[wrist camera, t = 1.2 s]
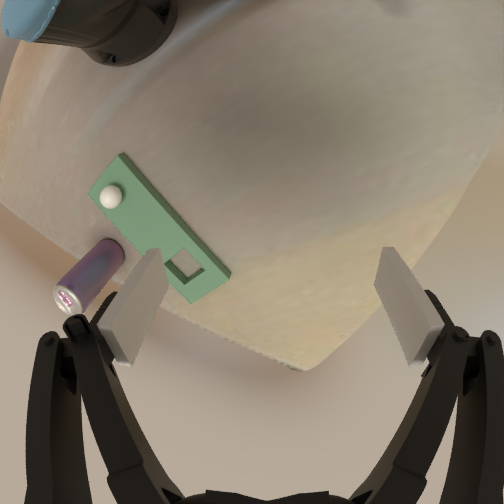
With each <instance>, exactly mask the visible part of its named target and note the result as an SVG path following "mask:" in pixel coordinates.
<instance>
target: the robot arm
mask: <svg viewBox="0 0 504 504" xmlns="http://www.w3.org/2000/svg"><path fill="white" fill-rule="evenodd" d="M176 17H177V4H176V1H175V0H5V2H4V5H3V9H2V14H1V26H2V30H3V32H4V34H5V35H6V36H7V37H9V38H12V39H19V40H24V41H26V42H37V43H48V44H57V45H65V46H72V47H78V48H81V49H82V50H83V51H84V52H85V53H86V54H87V55H88V56H89V57H90V58H92V59H93V60H94V61H96V62H98V63H100V64H103V65H108V66H114V67H120V66H127V65H131V64H134V63H136V62H138V61H140V60H142V59H144V58H146V57H147V56H149V55H150V54H152V53H153V52H154V51H155V50H156V49H157V48H159V47H160V45H161V44H162V43H163V42H164V41H165V40H166V38H167V37H168V36H169V34H170V32H171V31H172V29H173V26H174V24H175V21H176ZM374 286H375V288H376V290H377V292H378V295H379V297H380V299H381V301H382V303H383V305H384V307H385V310H386V312H387V314H388V316H389V318H390V321H391V323H392V325H393V328H394V330H395V332H396V335H397V337H398V340H399V342H400V345H401V347H402V350H403V352H404V355H405V357H406V360H407V363H408V365H409V367H414V366H419V365H422V364H423V362H424V361H425V359H426V357H427V358H428V360H429V364H428V366H427V367H426V369H425V371H424V372H423V374H422V375H421V377H423V378H422V380H421V383H420V385H419V387H418V389H417V392H416V394H415V396H414V399H413V400H412V403H411V405H410V407H409V409H408V411H407V413H406V415H405V417H404V419H403V421H402V422H401V424H400V426H399V428H398V430H397V432H396V433H395V435H394V437H393V439H392V440H391V442H390V444H389V446H388V447H387V449H386V451H385V452H384V454H383V455H382V457H381V458H380V460H379V461H378V463H377V465H376V466H375V468H374V469H373V471H372V472H371V473H370V475H369V476H368V478H367V479H366V480H365V481H364V482H363V484H361V485H360V487H358V489H357V490H356V491H355V492H354V493H353V494H352V496H351V497H350V498H349V499H345V498H342V497H339V496H335V495H329V491H323V492H313V493H301V494H300V493H299V494H296V495H291V496H288V497H283V498H280V499H275V500H269V501H265V500H260V499H256V498H252V497H248V496H244V495H241V494H237V493H230V492H221V491H212V490H206V493H203V494H197V495H193V496H189V497H186V498H185V497H184V496H183V494H182V493H181V492H180V490H179V489H178V488H177V486H176V485H175V484H174V483H173V482H172V481H171V480H170V478H169V477H168V475H167V474H166V472H165V471H164V469H163V467H162V466H161V464H160V463H159V461H158V459H157V457H156V456H155V454H154V452H153V450H152V449H151V447H150V445H149V443H148V441H147V439H146V438H145V436H144V434H143V432H142V430H141V428H140V426H139V424H138V422H137V420H136V418H135V416H134V413H133V411H132V409H131V407H130V405H129V402H128V400H127V398H126V396H125V393H124V391H123V388H122V386H121V384H120V381H119V379H118V376H117V373H116V371H115V368H114V366H113V364H112V361H113V359H114V357H115V359H116V361H117V362H118V364H119V365H124V366H129V367H132V365H133V363H134V361H135V358H136V356H137V354H138V351H139V349H140V347H141V345H142V343H143V340H144V338H145V336H146V334H147V331H148V329H149V327H150V325H151V323H152V320H153V318H154V316H155V314H156V312H157V310H158V308H159V306H160V304H161V302H162V300H163V297H164V295H165V293H166V291H167V289H168V287H169V283H168V279H167V275H166V271H165V267H164V263H163V259H162V254H161V250H160V248H158V249H148V250H147V252H146V253H145V255H144V256H143V257H142V259H141V260H140V261H139V263H138V264H137V266H136V267H135V268H134V270H133V271H132V273H131V274H130V275H129V277H128V278H127V280H126V281H125V283H124V284H123V285H122V287H121V288H120V290H119V291H118V292H113V293H111V294H110V295H109V296H108V297H107V298H106V299H105V300H104V302H103V303H102V305H101V306H100V308H99V310H98V311H97V312H96V314H95V315H94V317H93V318H92V320H91V321H90V323H89V322H88V320H87V318H86V317H85V315H83V314H76V315H72V316H71V317H69V318H68V319H67V320H66V321H65V322H64V324H63V330H64V332H65V333H66V335H67V337H68V338H60V337H59V335H58V334H57V333H56V332H54V331H50V332H48V333H45V334H44V335H43V336H42V337H41V338H40V340H39V343H38V347H37V352H36V356H35V361H34V367H33V372H32V379H31V385H30V392H29V401H28V411H27V423H26V475H27V490H26V496H25V502H24V504H92V499H91V492H90V487H89V481H88V476H87V469H86V462H85V454H84V444H83V433H82V413H81V395H82V398H83V402H84V405H85V409H86V412H87V415H88V419H89V422H90V425H91V428H92V431H93V434H94V437H95V439H96V442H97V445H98V447H99V450H100V452H101V455H102V457H103V460H104V462H105V464H106V467H107V469H108V472H109V475H108V477H107V483H108V485H109V488H110V490H111V492H112V494H113V496H114V498H115V500H116V502H117V503H118V504H416V502H417V501H418V499H419V498H420V496H421V494H422V492H423V491H424V488H425V486H426V483H427V480H426V478H425V476H426V473H427V471H428V469H429V467H430V465H431V463H432V461H433V459H434V456H435V454H436V452H437V450H438V448H439V445H440V443H441V441H442V438H443V436H444V433H445V431H446V428H447V425H448V423H449V420H450V417H451V414H452V411H453V408H454V405H455V402H456V399H457V395H458V402H457V403H458V404H457V415H456V425H455V434H454V440H453V447H452V453H451V458H450V463H449V468H448V472H447V477H446V481H445V485H444V488H443V492H442V495H441V499H440V503H439V504H503V486H504V355H503V349H502V344H501V340H500V338H499V336H498V335H497V334H496V333H495V332H493V331H491V330H486V331H484V332H483V333H482V335H481V337H480V338H478V337H470V336H469V334H468V333H467V331H465V330H464V329H463V328H461V327H458V326H454V324H453V322H452V321H451V319H450V317H449V316H448V314H447V313H446V311H445V309H443V307H442V305H441V303H440V302H439V300H438V299H437V297H436V296H435V295H434V294H433V293H432V292H431V291H430V290H423V288H422V287H421V285H420V284H419V282H418V281H417V279H416V278H415V276H414V275H413V273H412V272H411V270H410V269H409V267H408V266H407V265H406V263H405V262H404V260H403V259H402V258H401V256H400V255H399V254H398V252H397V251H396V249H395V248H394V247H382V252H381V257H380V261H379V266H378V270H377V274H376V279H375V283H374Z"/></svg>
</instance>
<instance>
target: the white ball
mask: <svg viewBox="0 0 504 504" xmlns="http://www.w3.org/2000/svg"><path fill="white" fill-rule="evenodd" d="M121 200H122V193H121V191H120V189H119V188H118V187H116V186H114V185H109V186H106V187H105V188H104V189H103V190H102V191H101V194H100V202H101V204H102V205H103V206H104V207H105V208H108V209H113V208H115V207H117V206H118V205H119V204H120V202H121Z"/></svg>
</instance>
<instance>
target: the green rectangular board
mask: <svg viewBox="0 0 504 504" xmlns="http://www.w3.org/2000/svg"><path fill="white" fill-rule="evenodd" d="M109 185H114V186H116V187H118V188H119V189H120V191H121V193H122V200H121V202H120V204H119V205H118V206H117V207H115V208H113V209H108V208H105V207H104V206H103V205H102V204H101V202H100V194H101V191H102V190H103V189H104V188H105V187H106V186H109ZM88 195H89V196H90V198H91V199H92V200H93V201H94V202H95V204H96V205H97V206H98V207H99V208H100V209H101V211H102V212H103V213H104V214H105V215H106V216H107V218H108V219H109V220H110V221H111V222H112V223H113V224H114V226H115V227H116V228H117V229H118V230H119V231H120V232H121V233H122V234H123V236H124V237H125V238H126V239H127V240H128V241H129V242H130V243H131V244H132V245H133V246H134V247H135V249H136V250H137V251H138V252H139V253H140V254H141V255H142V256H144V255H145V253H146V252H147V250H148V249H158V248H160V250H161V254H162V259H163V263H164V267H165V271H166V275H167V279H168V282H169V283H170V284H171V285H172V286H173V287H174V288H175V289H176V290H177V291H178V292H179V293H180V294H181V295H182V296H183V297H184V298H185V299H186V300H187V301H188V302H189V303H190V304H192V303H193V302H195V301H196V300H198V299H199V298H201V297H203V296H204V295H206V294H207V293H209V292H211V291H212V290H214V289H215V288H217V287H218V286H220V285H222V284H223V283H225V282H226V281H228V280H229V279H230V275H231V272H230V271H229V270H228V269H227V268H226V267H225V266H224V265H223V264H222V263H221V262H220V260H219V259H218V258H217V257H216V256H215V255H214V254H213V253H212V252H211V251H210V250H209V249H208V248H207V246H206V245H205V244H204V243H203V242H202V241H201V240H200V239H199V238H198V237H197V236H196V234H195V233H194V232H193V231H192V230H191V229H190V228H189V227H188V226H187V225H186V223H185V222H184V221H183V220H182V219H181V218H180V217H179V216H178V215H177V213H176V212H175V211H174V210H173V209H172V208H171V207H170V206H169V204H168V203H167V202H166V201H165V200H164V199H163V198H162V197H161V195H160V194H159V193H158V192H157V191H156V190H155V189H154V187H153V186H152V185H151V184H150V183H149V182H148V181H147V179H146V178H145V177H144V176H143V175H142V174H141V172H140V171H139V170H138V169H137V168H136V167H135V166H134V164H133V163H132V162H131V161H130V160H129V159H128V157H127V156H126V155H125V154H124V153H122V154H119V155H117V156H116V157H115V159H114V160H113V161H112V162H111V164H110V165H109V166H108V167H107V169H106V170H105V171H104V172H103V174H102V175H101V176H100V177H99V179H98V180H97V181H96V183H95V184H94V185H93V187H92V188H91V189H90V191H89V192H88ZM183 248H185V250H186V251H187V252H188V253H189V254H190V255H191V256H192V257H193V258H194V259H195V260H196V261H197V262H198V263H199V264H200V265H201V266H202V267H203V268H202V269H200V270H199V271H197V272H196V273H195V274H193V275H192V276H190V277H189V278H187V277H186V276H185V275H184V274H183V273H182V272H181V271H180V270H179V269H178V268H177V267H176V266H175V265H174V264H173V263H172V262H171V261H170V260H169V259H170V258H172V257H173V256H174V255H175V254H177V253H178V252H179V251H180V250H182V249H183Z"/></svg>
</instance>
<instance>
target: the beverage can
mask: <svg viewBox="0 0 504 504" xmlns="http://www.w3.org/2000/svg"><path fill="white" fill-rule="evenodd" d="M123 261H124V255H123V251H122V249H121V247H120V246H119V245H118V244H117V243H116V242H114V241H112V240H107V239H105V240H102V241H100V242H99V243H98V244H97V245H96V246H95V247H94V248H92V249H91V250H90V251H89V252H88V253H87V254H86V255H85V256H84V257H83V258H82V259H81V260H80V261H79V262H78V263H77V264H76V265H75V266H74V267H73V268H72V269H71V270H70V271H69V272H68V273H67V274H66V275H65V276H64V277H63V278H62V279H61V280H60V281H59V282H58V283H57V285H56V287H55V288H54V290H53V296H54V299H55V301H56V303H57V305H58V306H59V307H60V309H61V310H62V311H64V312H65V313H66V314H68V315H69V316H72V315H76V314H82V313H84V312H85V311H86V309H87V308H88V306H89V305H90V304H91V303H92V301H93V300H94V299H95V298H96V296H97V295H98V294H99V292H100V291H101V290H102V288H103V287H104V286H105V285H106V284H107V282H108V281H109V280H110V279H111V277H112V276H113V275H114V274H115V273H116V271H117V270H118V269H119V268H120V267H121V265H122V264H123Z"/></svg>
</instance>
